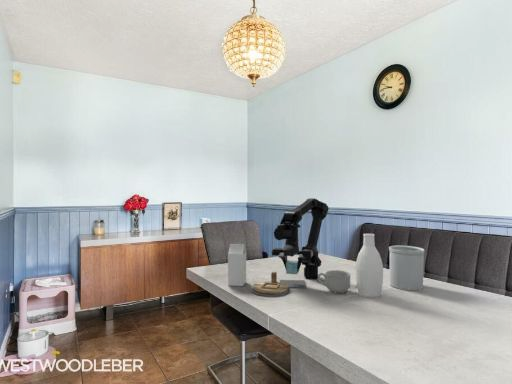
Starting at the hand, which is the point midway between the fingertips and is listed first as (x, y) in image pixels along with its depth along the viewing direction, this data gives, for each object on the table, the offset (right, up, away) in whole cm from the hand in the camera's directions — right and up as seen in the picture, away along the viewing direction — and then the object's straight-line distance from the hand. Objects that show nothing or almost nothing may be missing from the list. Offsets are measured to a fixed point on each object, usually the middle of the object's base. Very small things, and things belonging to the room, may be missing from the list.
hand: (292, 270), depth 152 cm
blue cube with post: (0, -1, -1) cm, 2 cm away
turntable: (-11, -6, -9) cm, 16 cm away
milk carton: (-26, -7, +1) cm, 27 cm away
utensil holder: (+52, -6, -5) cm, 52 cm away
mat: (0, -6, 0) cm, 6 cm away
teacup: (+17, -7, -11) cm, 21 cm away
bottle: (+31, -6, -16) cm, 35 cm away
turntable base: (-11, -6, -9) cm, 16 cm away
